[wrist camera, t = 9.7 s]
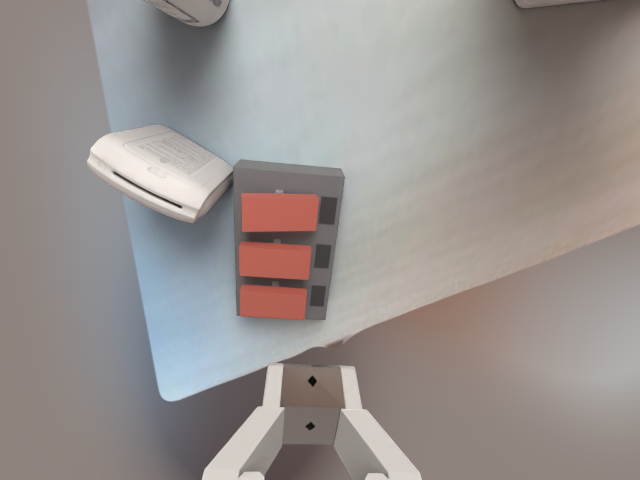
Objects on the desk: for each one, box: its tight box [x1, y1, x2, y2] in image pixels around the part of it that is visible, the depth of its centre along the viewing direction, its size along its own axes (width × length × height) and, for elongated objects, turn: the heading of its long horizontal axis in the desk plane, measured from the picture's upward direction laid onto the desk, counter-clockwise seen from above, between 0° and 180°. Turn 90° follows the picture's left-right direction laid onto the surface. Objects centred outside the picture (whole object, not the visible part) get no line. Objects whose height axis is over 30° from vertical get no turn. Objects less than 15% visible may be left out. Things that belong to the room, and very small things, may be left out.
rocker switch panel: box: [233, 160, 345, 320], centre depth 38 cm, size 12×20×5 cm, turn 174°
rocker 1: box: [241, 193, 319, 232], centre depth 33 cm, size 8×4×1 cm, turn 85°
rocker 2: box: [239, 241, 311, 280], centre depth 35 cm, size 8×4×1 cm, turn 84°
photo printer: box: [87, 124, 233, 223], centre depth 30 cm, size 10×4×12 cm, turn 57°
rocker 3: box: [240, 284, 307, 320], centre depth 38 cm, size 8×4×1 cm, turn 84°
